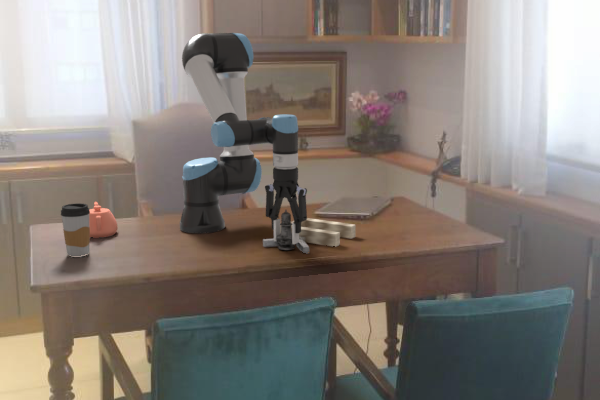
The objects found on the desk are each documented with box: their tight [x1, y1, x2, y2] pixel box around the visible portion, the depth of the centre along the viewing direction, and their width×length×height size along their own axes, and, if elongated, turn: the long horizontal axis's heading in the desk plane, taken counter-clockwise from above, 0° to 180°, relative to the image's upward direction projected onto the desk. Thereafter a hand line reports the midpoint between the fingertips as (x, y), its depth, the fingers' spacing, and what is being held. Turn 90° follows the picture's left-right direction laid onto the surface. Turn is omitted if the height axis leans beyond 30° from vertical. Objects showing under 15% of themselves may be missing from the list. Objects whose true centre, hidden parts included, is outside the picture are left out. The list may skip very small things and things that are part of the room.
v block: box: [262, 236, 310, 254], centre depth 229 cm, size 10×17×2 cm, turn 59°
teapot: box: [89, 201, 119, 239], centre depth 246 cm, size 12×18×10 cm
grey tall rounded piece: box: [277, 209, 296, 251], centre depth 226 cm, size 6×6×12 cm
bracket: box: [280, 217, 356, 248], centre depth 239 cm, size 20×14×4 cm
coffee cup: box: [60, 202, 91, 256], centre depth 221 cm, size 8×8×15 cm
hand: (286, 241), depth 227 cm, fingers closed on grey tall rounded piece, 6 cm apart
